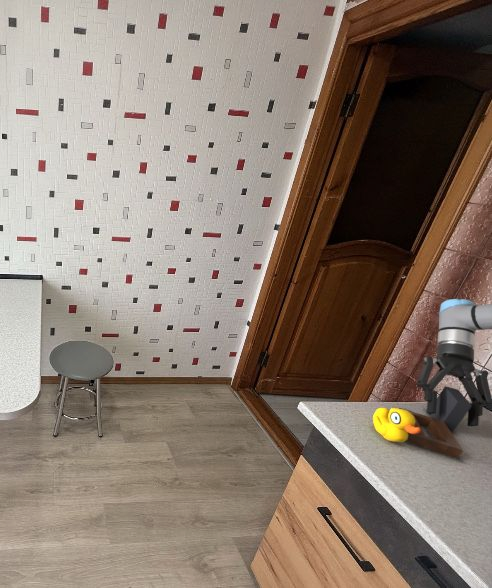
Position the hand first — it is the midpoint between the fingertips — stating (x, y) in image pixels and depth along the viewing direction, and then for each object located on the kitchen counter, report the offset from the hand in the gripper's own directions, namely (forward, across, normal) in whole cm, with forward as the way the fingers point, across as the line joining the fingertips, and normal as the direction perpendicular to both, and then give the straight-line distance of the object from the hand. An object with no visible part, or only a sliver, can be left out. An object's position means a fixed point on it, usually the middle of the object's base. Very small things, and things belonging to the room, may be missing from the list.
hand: (451, 419), depth 95 cm
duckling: (+13, +17, +7) cm, 23 cm away
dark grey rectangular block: (0, 0, -5) cm, 5 cm away
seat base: (+8, +7, +2) cm, 11 cm away
